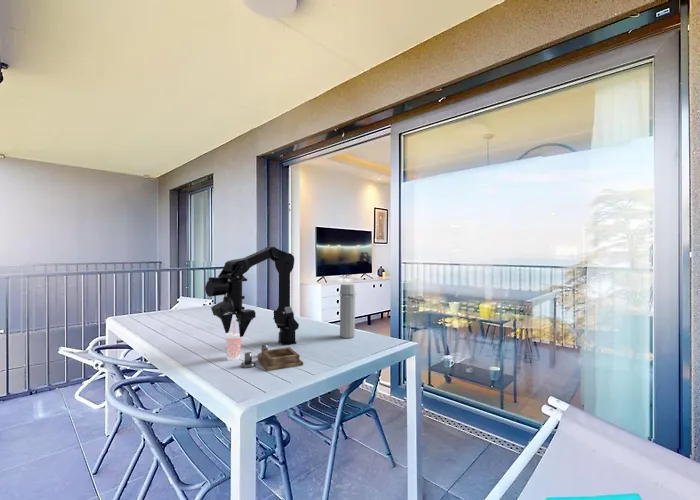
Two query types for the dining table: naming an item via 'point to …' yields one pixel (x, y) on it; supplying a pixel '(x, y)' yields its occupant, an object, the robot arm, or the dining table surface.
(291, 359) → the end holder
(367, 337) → the dining table surface
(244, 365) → the knob
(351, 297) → the water bottle
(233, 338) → the beverage cup
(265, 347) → the knob
